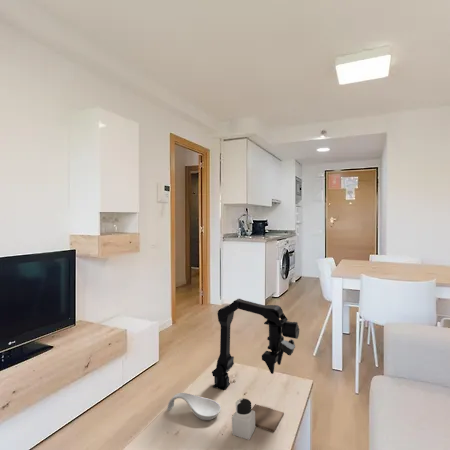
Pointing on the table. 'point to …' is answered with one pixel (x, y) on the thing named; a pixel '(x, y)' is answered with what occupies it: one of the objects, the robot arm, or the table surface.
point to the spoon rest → (198, 405)
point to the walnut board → (267, 417)
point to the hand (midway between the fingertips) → (275, 368)
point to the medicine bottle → (243, 419)
